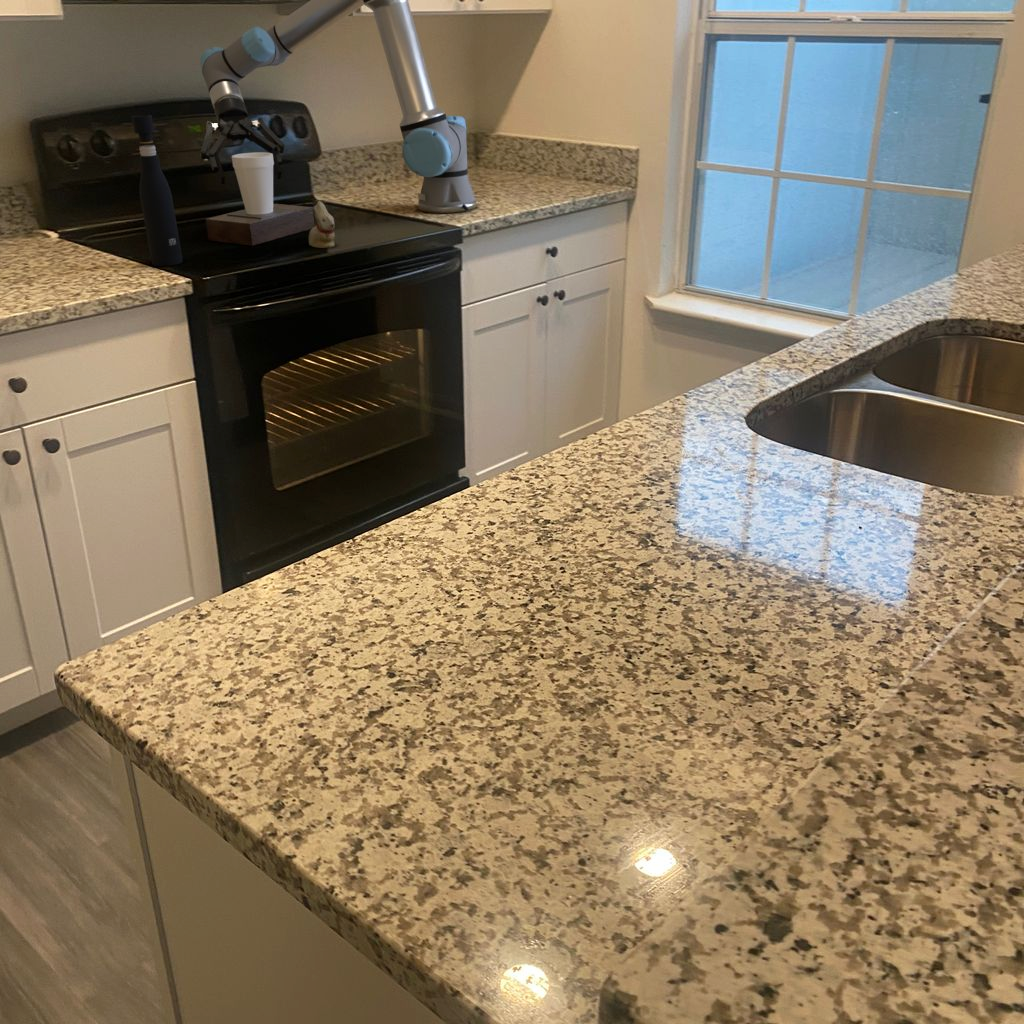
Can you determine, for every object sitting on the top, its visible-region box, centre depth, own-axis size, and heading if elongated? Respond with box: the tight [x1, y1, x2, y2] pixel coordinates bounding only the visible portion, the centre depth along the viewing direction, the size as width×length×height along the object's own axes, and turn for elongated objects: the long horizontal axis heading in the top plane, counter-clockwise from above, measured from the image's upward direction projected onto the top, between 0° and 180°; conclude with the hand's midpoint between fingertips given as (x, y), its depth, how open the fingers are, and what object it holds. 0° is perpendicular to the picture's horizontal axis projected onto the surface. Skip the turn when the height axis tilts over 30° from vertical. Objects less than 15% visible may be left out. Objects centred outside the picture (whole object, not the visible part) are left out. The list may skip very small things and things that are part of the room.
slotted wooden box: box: [205, 203, 316, 247], centre depth 247 cm, size 14×22×5 cm, turn 149°
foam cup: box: [231, 151, 274, 214], centre depth 243 cm, size 10×9×13 cm
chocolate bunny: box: [308, 200, 336, 249], centre depth 233 cm, size 6×8×10 cm
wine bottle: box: [131, 114, 184, 267], centre depth 216 cm, size 6×6×30 cm
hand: (251, 178), depth 247 cm, fingers open, 13 cm apart
